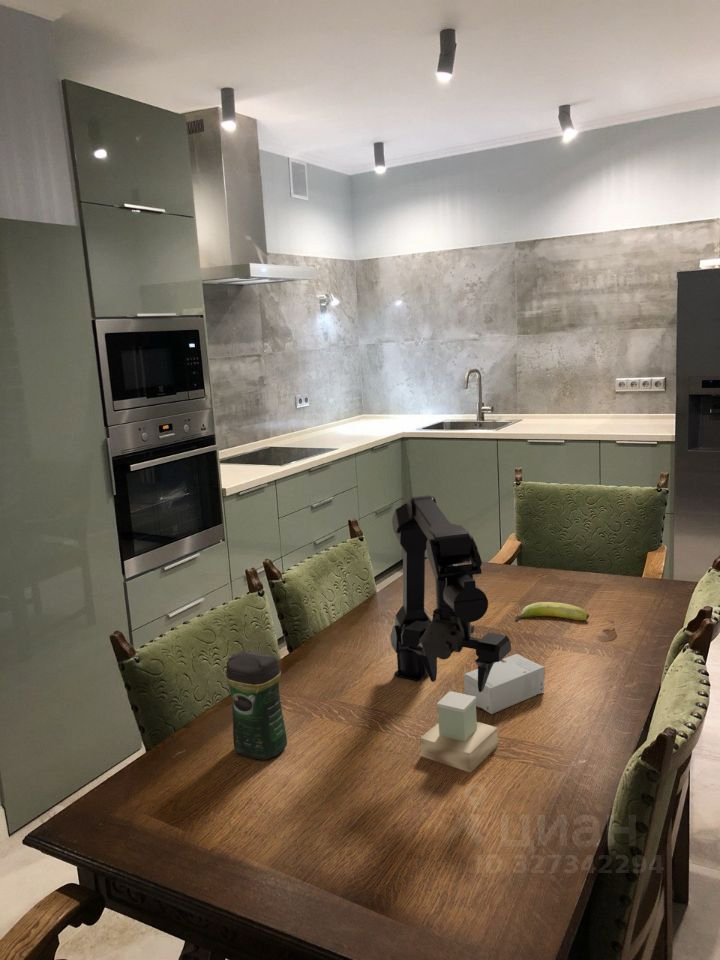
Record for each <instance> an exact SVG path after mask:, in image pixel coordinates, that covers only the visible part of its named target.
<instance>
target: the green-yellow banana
mask: <svg viewBox="0 0 720 960" xmlns="http://www.w3.org/2000/svg"><path fill="white" fill-rule="evenodd" d="M532 601H533V599H526V600H524V602H532ZM515 602H517V600H513V601H511V603H515ZM541 617H543V618H544V617H546V618H547V617H548V618H549V617H550V618H560V619H567V620H573V621H577V622H582V621H588V619H589V617H590V615H589V613H588V612H587V610H585V609H584V608H581V607H580V606H577V605H573V604H569V603H565V602H554V601H539V602H534V603H533V602H532V603H531V604H528V605H527V606H524V608H523V609H522V611H521V613H520V614H519V615H517V616H516V617H515V620H516V621H521V620H522V619H527V618H541ZM605 620H606V621H607V622H608V623H611V624H612V625H614V623H615V620H613V619H610V617H609V618H605ZM563 630H572V629H571V628H570V626H568V627H567V628H563ZM602 633H604V634H605V635H597V636H595V637H596V641H598V642H600V643H602V642H603V643H604V642H610V641H613V640H615V638H616V637H617V636H618V634H617V632H616V628H615V627H610V628H604V629H602Z"/></svg>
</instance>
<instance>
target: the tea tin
mask: <svg viewBox="0 0 720 960" xmlns="http://www.w3.org/2000/svg"><path fill="white" fill-rule="evenodd" d="M436 707H437V717H438V723H439V736H443V737H447V738H451V739H455V740H459V741H463V742H465V741H466V740H467V739H468V738H469V737H470V736H471V735H472V734H473V733H474V732H475V731H476V729H477V722H478V720H477V706H476V697H475V696H471V695H466V694H465V693H461V692H456V691H451V690H449V691H448V692H447V693H446V694H445V695H444V696H443V697H442V698H441V699H440V700H439V701H437V703H436Z"/></svg>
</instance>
